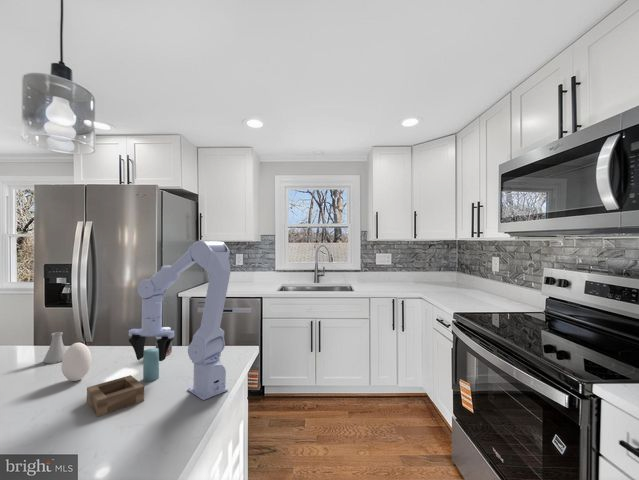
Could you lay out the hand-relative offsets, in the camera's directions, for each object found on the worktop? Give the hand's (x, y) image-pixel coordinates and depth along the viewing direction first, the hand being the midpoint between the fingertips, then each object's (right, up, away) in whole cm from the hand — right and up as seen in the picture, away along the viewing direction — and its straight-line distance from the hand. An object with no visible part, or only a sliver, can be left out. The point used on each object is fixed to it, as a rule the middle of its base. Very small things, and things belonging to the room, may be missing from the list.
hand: (151, 359), depth 98 cm
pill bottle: (-7, -7, +22) cm, 24 cm away
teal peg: (0, -6, 0) cm, 6 cm away
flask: (-43, -6, +15) cm, 46 cm away
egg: (-23, -6, -2) cm, 23 cm away
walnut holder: (-2, -6, -14) cm, 16 cm away
